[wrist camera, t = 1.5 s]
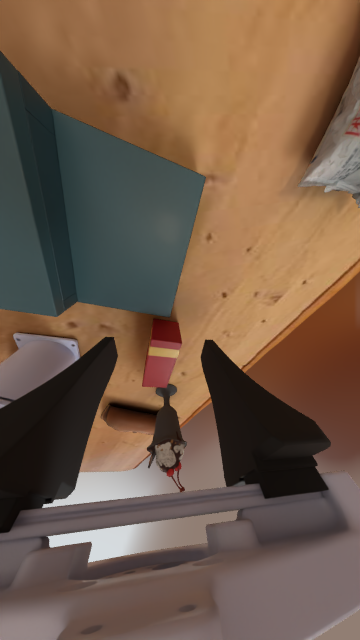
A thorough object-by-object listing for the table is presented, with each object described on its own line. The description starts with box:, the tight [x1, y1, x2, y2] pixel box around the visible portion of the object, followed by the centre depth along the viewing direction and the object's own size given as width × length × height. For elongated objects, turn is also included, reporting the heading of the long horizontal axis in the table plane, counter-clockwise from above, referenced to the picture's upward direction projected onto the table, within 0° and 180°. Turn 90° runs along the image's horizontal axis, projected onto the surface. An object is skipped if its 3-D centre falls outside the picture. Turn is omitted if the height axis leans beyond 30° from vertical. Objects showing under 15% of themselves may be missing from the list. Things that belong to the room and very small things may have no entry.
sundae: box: [147, 384, 187, 492], centre depth 25 cm, size 7×7×15 cm
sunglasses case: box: [101, 404, 157, 435], centre depth 34 cm, size 18×7×7 cm, turn 57°
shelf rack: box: [0, 51, 206, 317], centre depth 12 cm, size 14×16×6 cm
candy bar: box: [142, 319, 182, 388], centre depth 21 cm, size 10×4×5 cm, turn 165°
